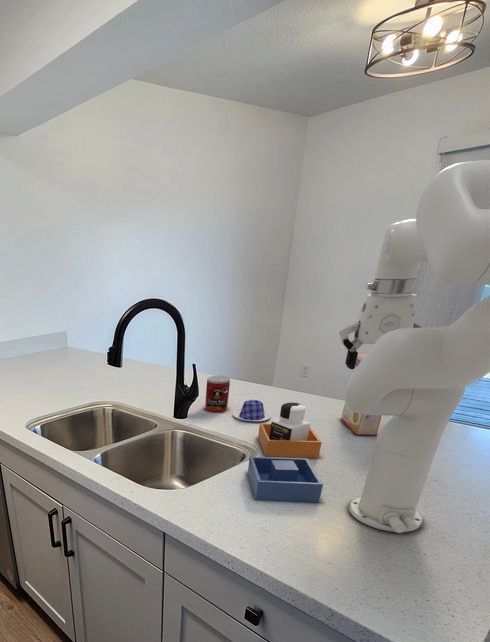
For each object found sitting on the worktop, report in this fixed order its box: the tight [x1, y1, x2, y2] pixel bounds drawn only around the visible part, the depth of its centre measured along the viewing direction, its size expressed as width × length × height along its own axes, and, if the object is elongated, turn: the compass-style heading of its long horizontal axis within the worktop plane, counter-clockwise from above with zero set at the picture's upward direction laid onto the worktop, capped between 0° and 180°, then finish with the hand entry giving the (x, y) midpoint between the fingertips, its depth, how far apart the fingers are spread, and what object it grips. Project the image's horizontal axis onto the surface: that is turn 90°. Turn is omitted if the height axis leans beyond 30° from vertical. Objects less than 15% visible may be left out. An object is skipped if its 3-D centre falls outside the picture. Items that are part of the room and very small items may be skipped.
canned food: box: [204, 375, 231, 413], centre depth 152 cm, size 8×8×11 cm
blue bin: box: [247, 456, 324, 503], centre depth 102 cm, size 13×13×5 cm
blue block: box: [269, 460, 299, 482], centre depth 102 cm, size 5×5×5 cm
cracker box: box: [340, 353, 383, 436], centre depth 128 cm, size 14×6×21 cm, turn 168°
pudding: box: [232, 399, 272, 422], centre depth 145 cm, size 12×12×5 cm
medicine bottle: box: [269, 402, 311, 441], centre depth 120 cm, size 7×7×12 cm
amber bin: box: [257, 422, 322, 459], centre depth 122 cm, size 13×13×5 cm
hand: (372, 367), depth 101 cm, fingers open, 9 cm apart
